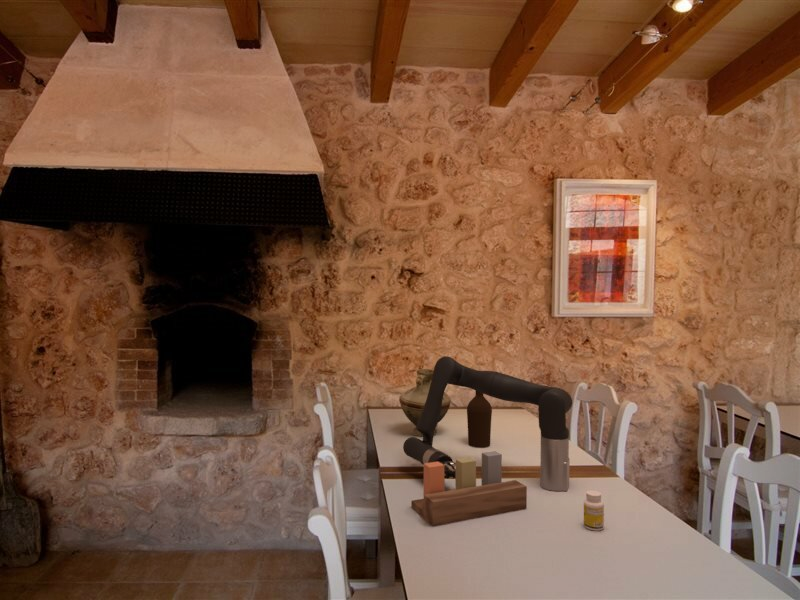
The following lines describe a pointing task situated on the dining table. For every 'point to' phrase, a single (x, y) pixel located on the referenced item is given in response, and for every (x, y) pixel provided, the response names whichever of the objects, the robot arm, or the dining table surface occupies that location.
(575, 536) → the dining table surface
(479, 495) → the console
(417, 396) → the amphora
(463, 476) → the khaki rectangular block
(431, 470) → the terracotta key
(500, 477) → the slate key
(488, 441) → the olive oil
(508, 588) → the dining table surface
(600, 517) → the supplement bottle
